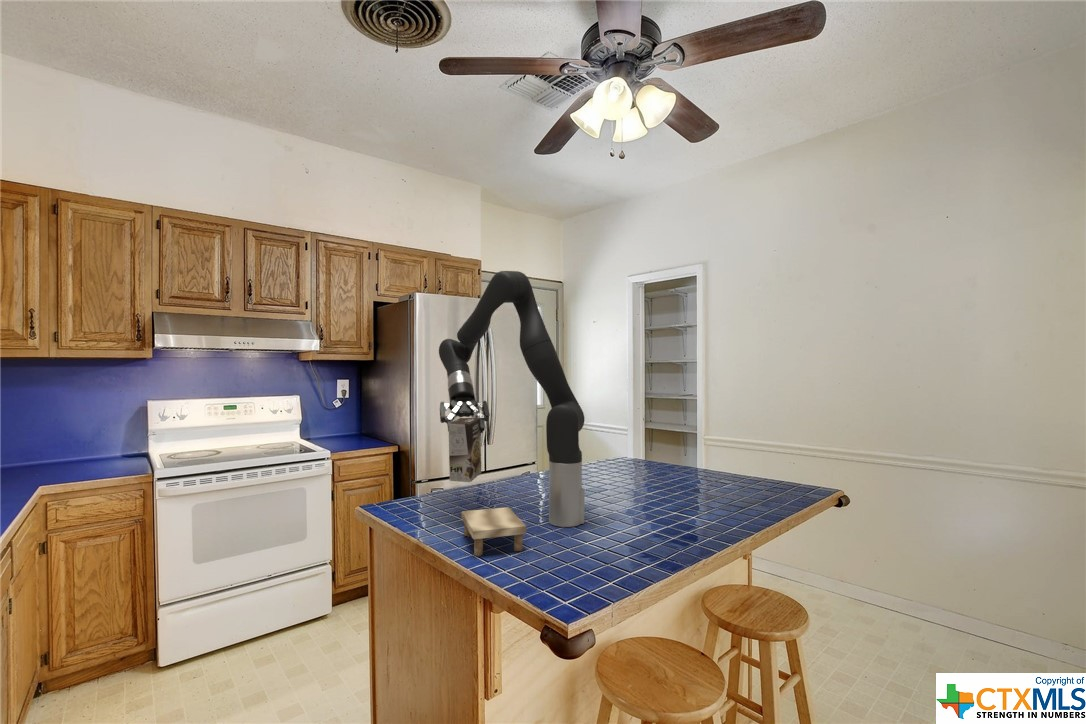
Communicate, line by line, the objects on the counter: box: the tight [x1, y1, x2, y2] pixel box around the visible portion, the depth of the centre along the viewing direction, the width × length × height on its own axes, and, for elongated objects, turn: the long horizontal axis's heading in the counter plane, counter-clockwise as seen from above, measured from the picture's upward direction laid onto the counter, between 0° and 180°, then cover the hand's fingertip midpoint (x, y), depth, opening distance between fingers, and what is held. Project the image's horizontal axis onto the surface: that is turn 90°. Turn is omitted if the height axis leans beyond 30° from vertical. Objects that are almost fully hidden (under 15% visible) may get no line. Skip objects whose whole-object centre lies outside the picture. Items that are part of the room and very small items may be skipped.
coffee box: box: [448, 417, 482, 483], centre depth 140 cm, size 9×6×16 cm
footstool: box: [461, 506, 527, 557], centre depth 124 cm, size 13×17×6 cm
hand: (467, 431), depth 142 cm, fingers closed on coffee box, 8 cm apart
